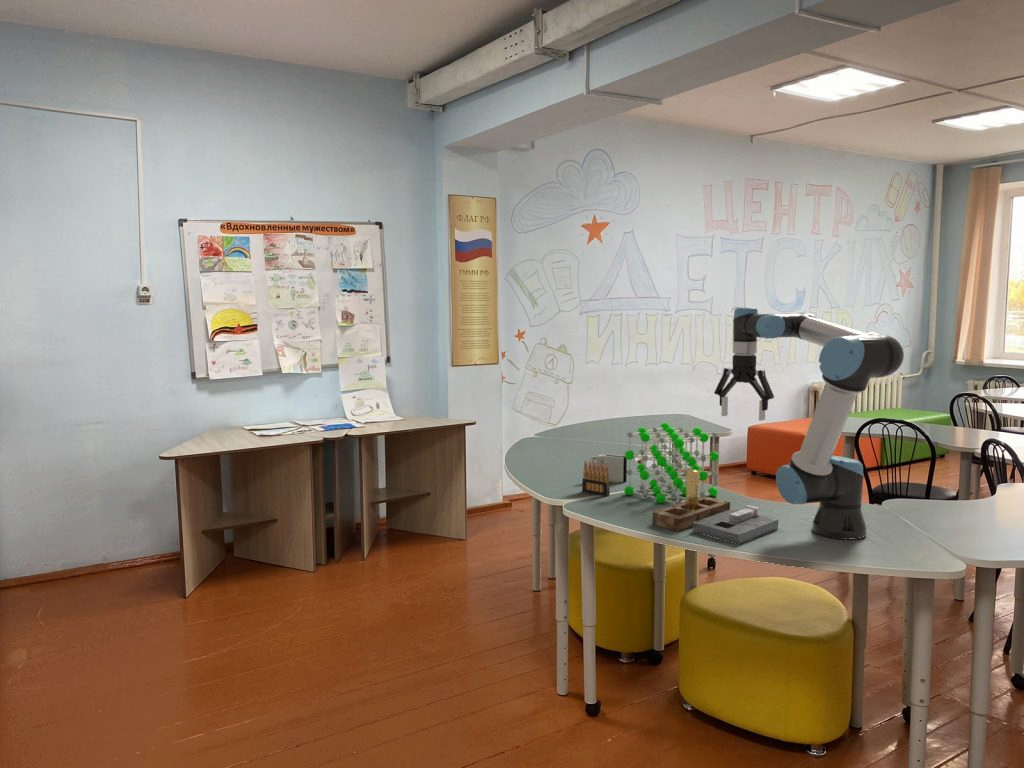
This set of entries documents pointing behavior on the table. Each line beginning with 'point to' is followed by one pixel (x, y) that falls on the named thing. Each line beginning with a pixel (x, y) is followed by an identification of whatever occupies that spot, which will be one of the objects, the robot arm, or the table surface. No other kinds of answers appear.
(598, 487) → the ammunition clip
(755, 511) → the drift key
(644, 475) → the molecular structure model
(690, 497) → the peg
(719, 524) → the socket housing
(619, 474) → the grey rectangular box
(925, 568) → the table surface
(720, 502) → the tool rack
